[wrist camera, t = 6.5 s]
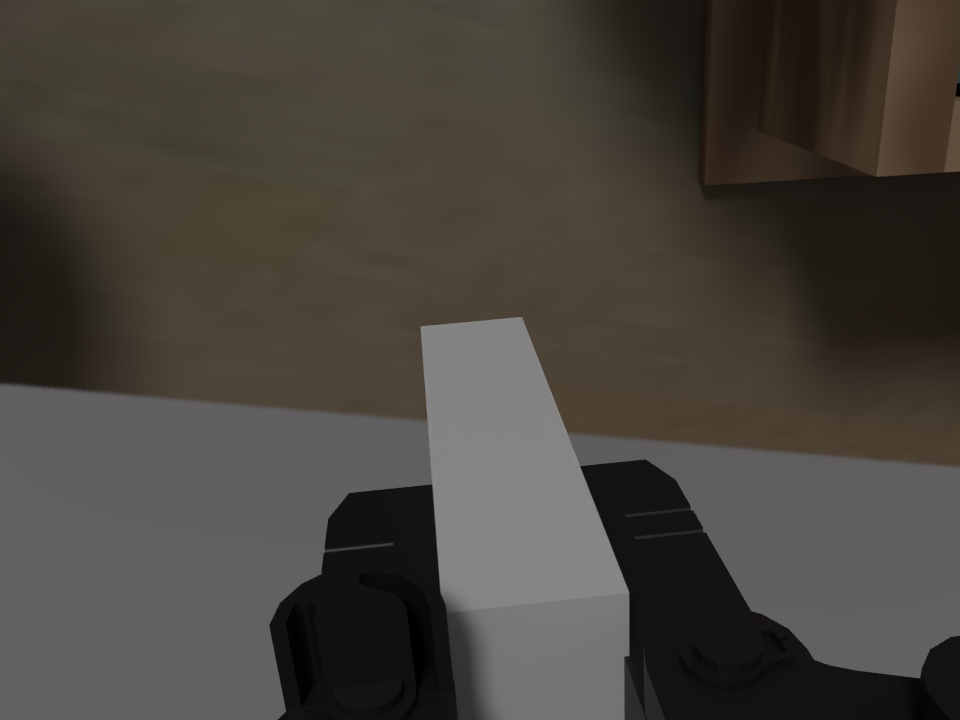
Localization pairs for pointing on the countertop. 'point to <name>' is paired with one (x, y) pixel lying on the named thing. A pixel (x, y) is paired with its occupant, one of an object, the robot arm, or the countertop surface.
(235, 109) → the countertop surface
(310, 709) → the robot arm
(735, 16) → the chute
